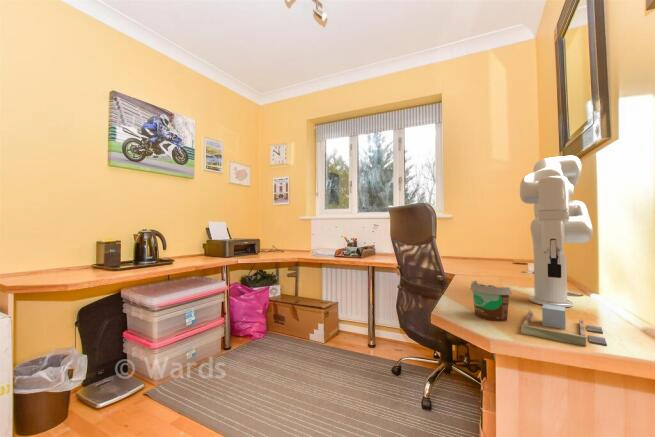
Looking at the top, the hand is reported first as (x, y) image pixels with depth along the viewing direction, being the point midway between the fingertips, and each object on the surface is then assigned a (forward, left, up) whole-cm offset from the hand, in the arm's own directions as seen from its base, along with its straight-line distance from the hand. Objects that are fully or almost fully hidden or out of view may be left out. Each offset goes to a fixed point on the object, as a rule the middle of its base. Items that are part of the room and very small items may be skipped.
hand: (554, 277), depth 88 cm
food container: (+12, -17, -13) cm, 24 cm away
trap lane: (+11, +2, -13) cm, 17 cm away
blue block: (+7, 0, -13) cm, 15 cm away
